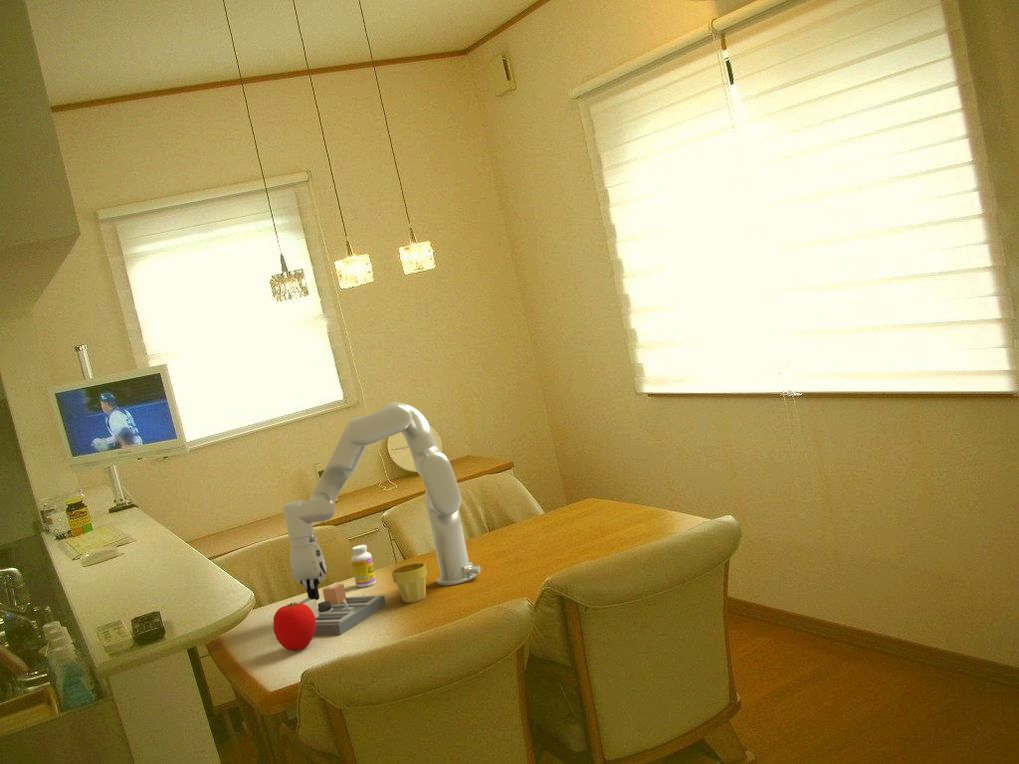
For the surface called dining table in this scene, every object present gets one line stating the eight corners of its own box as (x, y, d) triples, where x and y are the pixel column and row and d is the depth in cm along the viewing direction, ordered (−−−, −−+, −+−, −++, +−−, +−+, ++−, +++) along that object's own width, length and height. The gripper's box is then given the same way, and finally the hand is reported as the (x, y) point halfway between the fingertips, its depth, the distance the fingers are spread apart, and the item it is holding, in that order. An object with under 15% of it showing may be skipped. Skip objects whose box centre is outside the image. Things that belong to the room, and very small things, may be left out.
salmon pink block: (346, 600, 305) (343, 581, 305) (338, 605, 301) (334, 586, 301) (334, 600, 307) (330, 582, 307) (325, 605, 303) (322, 587, 303)
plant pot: (391, 602, 306) (385, 571, 305) (419, 592, 312) (413, 561, 311) (409, 606, 297) (402, 574, 297) (438, 595, 303) (432, 564, 303)
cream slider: (319, 616, 293) (315, 597, 292) (310, 621, 289) (306, 602, 288) (306, 616, 295) (303, 597, 294) (297, 622, 291) (293, 603, 290)
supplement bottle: (372, 586, 329) (365, 548, 328) (353, 589, 331) (346, 550, 330) (379, 580, 336) (372, 542, 335) (360, 583, 337) (353, 545, 336)
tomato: (269, 657, 272) (260, 611, 272) (292, 642, 283) (283, 598, 282) (305, 655, 268) (296, 608, 267) (326, 640, 278) (317, 595, 278)
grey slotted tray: (386, 605, 303) (382, 584, 303) (340, 634, 281) (336, 611, 281) (336, 608, 311) (332, 587, 310) (288, 636, 289) (284, 614, 289)
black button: (333, 607, 298) (332, 600, 298) (326, 611, 295) (325, 604, 295) (323, 607, 300) (322, 601, 300) (316, 611, 297) (315, 605, 297)
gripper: (330, 536, 307) (341, 595, 308) (290, 539, 313) (302, 597, 314) (315, 543, 300) (327, 603, 301) (275, 546, 306) (287, 605, 307)
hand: (314, 600), depth 308 cm, fingers closed
